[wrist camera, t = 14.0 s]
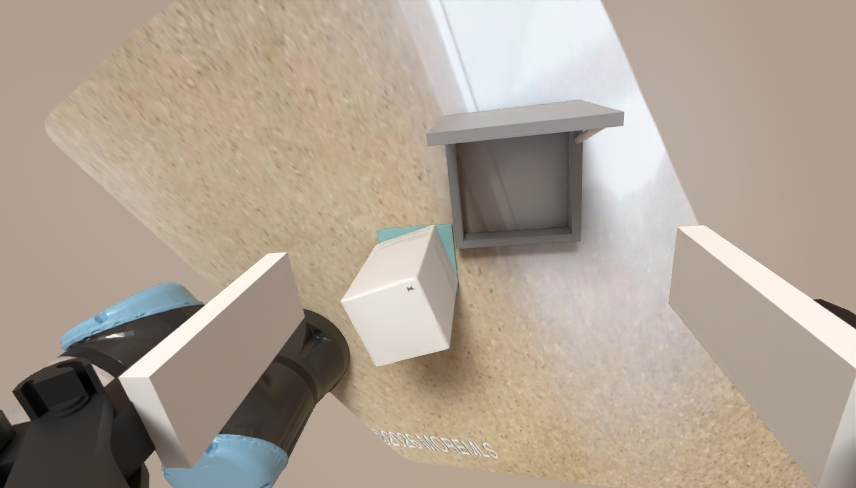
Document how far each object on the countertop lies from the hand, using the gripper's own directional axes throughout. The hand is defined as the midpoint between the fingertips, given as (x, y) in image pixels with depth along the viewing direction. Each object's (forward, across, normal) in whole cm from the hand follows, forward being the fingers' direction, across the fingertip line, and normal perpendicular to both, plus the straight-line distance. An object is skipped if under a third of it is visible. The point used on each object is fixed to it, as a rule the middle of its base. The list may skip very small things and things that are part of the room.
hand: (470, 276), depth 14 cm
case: (+37, +4, -6) cm, 37 cm away
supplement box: (+36, -10, -16) cm, 41 cm away
